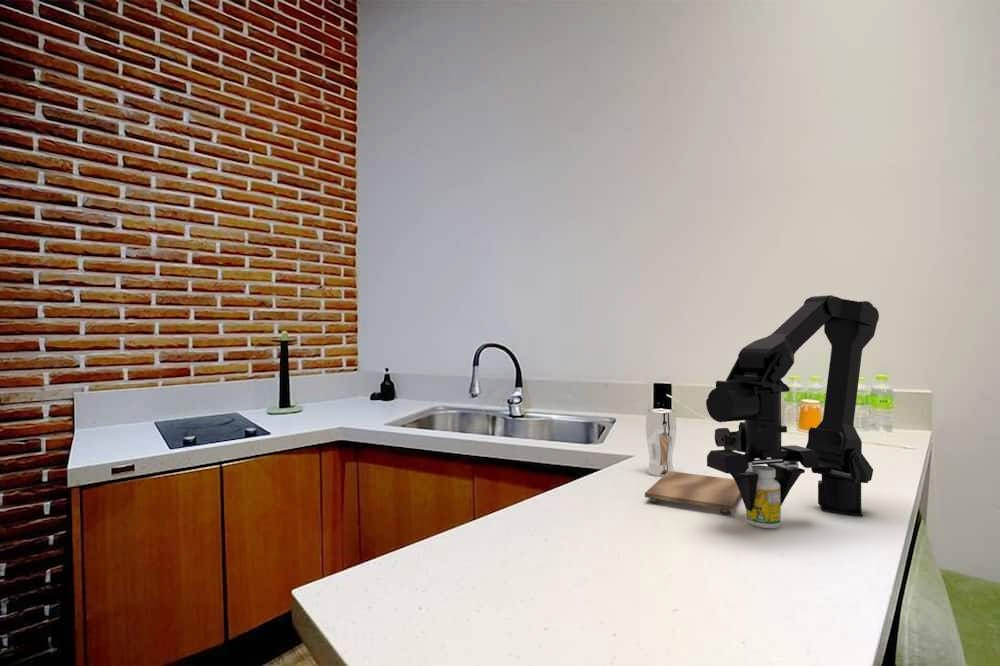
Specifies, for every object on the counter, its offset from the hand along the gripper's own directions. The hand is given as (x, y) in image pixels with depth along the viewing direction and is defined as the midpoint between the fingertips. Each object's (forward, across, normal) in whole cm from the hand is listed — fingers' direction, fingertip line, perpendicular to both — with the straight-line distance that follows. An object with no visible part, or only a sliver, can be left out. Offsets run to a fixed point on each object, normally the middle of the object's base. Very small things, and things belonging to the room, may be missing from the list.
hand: (763, 508), depth 93 cm
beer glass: (+3, -2, -36) cm, 36 cm away
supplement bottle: (+3, 0, 0) cm, 3 cm away
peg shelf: (+3, +1, -18) cm, 18 cm away
